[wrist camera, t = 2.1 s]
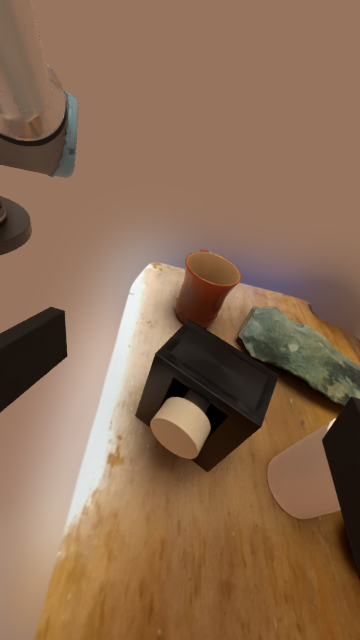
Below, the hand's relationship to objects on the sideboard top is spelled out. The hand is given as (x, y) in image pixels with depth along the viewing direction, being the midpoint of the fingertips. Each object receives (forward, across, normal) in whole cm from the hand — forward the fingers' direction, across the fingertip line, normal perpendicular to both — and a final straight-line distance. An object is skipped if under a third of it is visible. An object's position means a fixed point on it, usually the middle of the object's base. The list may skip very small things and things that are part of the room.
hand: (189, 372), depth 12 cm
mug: (+32, -5, -12) cm, 34 cm away
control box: (+12, 0, -17) cm, 21 cm away
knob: (+8, 0, -12) cm, 15 cm away
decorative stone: (+30, +15, -16) cm, 38 cm away
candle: (+11, +14, -20) cm, 27 cm away
